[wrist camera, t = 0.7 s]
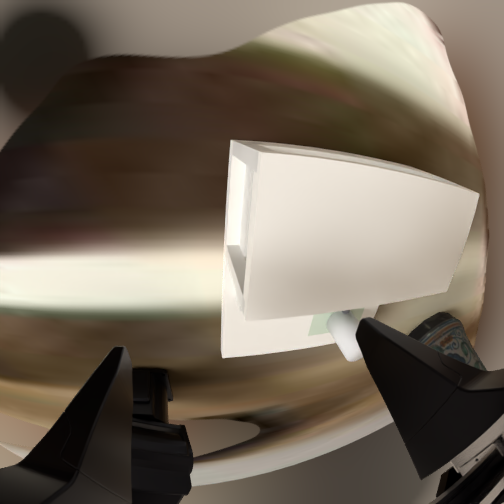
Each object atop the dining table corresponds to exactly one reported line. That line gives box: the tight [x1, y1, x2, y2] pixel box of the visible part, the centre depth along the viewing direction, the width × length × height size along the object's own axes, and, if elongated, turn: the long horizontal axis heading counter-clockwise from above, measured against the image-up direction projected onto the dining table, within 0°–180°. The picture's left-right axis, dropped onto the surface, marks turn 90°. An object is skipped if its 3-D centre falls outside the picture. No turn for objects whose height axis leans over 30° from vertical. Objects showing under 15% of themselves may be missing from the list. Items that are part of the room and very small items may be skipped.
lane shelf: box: [221, 140, 479, 358], centre depth 22 cm, size 21×18×9 cm
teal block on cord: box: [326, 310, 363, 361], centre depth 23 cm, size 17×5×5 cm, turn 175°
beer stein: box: [408, 312, 487, 462], centre depth 29 cm, size 16×19×25 cm
